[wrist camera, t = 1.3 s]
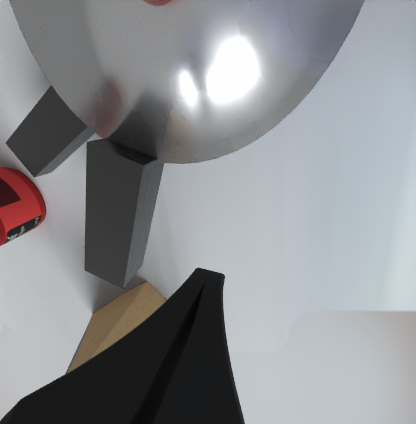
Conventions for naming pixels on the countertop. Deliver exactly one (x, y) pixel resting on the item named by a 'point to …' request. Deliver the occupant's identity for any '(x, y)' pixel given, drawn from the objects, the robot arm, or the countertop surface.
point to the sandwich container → (116, 321)
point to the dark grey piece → (48, 135)
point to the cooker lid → (172, 91)
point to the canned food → (18, 205)
